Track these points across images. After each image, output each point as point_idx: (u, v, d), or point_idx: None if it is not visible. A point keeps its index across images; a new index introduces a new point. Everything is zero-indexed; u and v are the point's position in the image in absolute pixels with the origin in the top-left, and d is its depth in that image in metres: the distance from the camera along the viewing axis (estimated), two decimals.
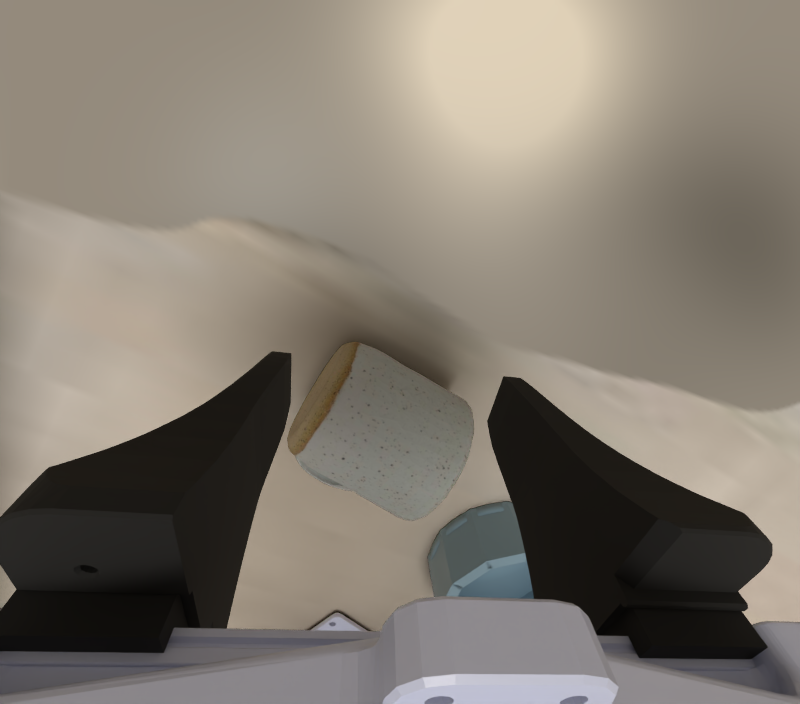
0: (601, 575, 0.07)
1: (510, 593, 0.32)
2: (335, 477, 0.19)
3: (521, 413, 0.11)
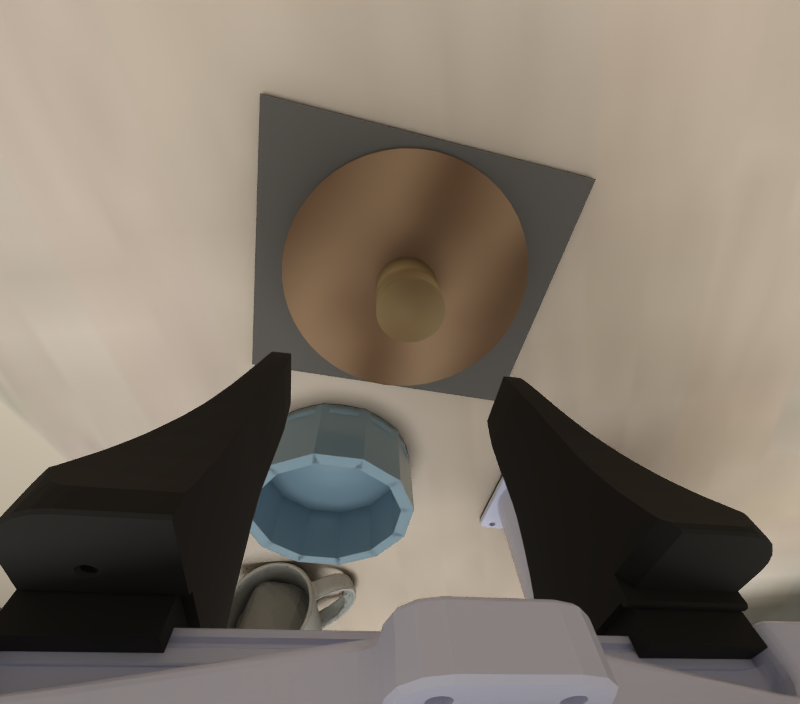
0: (601, 575, 0.07)
1: None
2: None
3: (521, 413, 0.11)
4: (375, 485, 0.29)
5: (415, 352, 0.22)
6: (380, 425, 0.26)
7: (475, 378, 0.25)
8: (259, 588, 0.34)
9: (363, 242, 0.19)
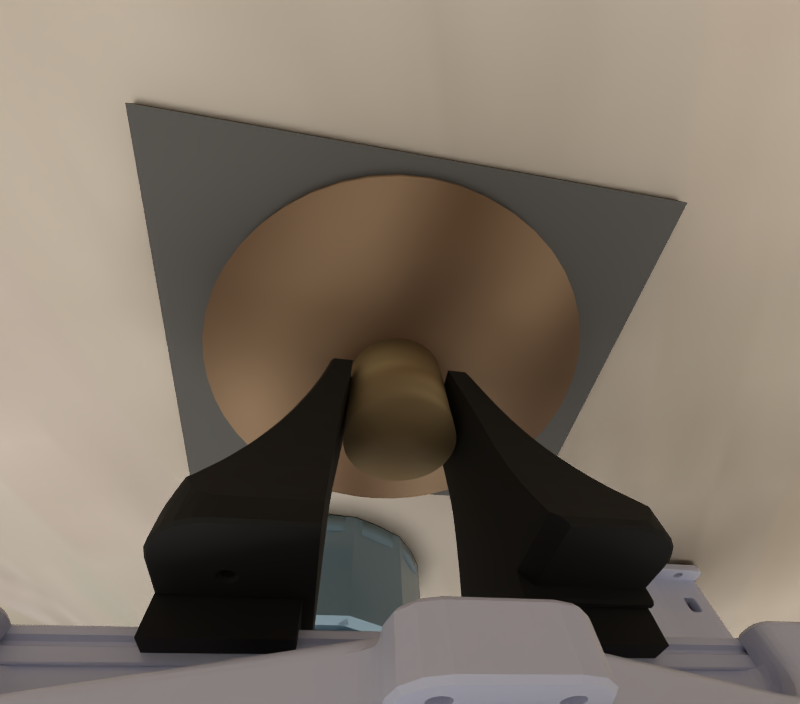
0: (507, 571, 0.07)
1: None
2: None
3: (458, 407, 0.11)
4: None
5: None
6: (374, 538, 0.19)
7: None
8: None
9: (323, 322, 0.12)
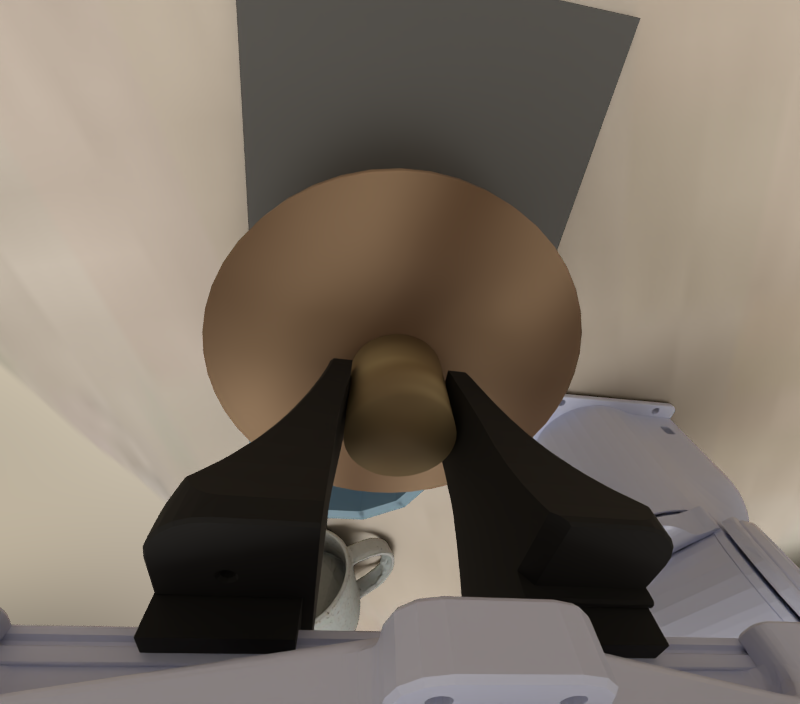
0: (508, 571, 0.07)
1: None
2: None
3: (459, 407, 0.11)
4: None
5: None
6: None
7: None
8: None
9: (323, 318, 0.12)
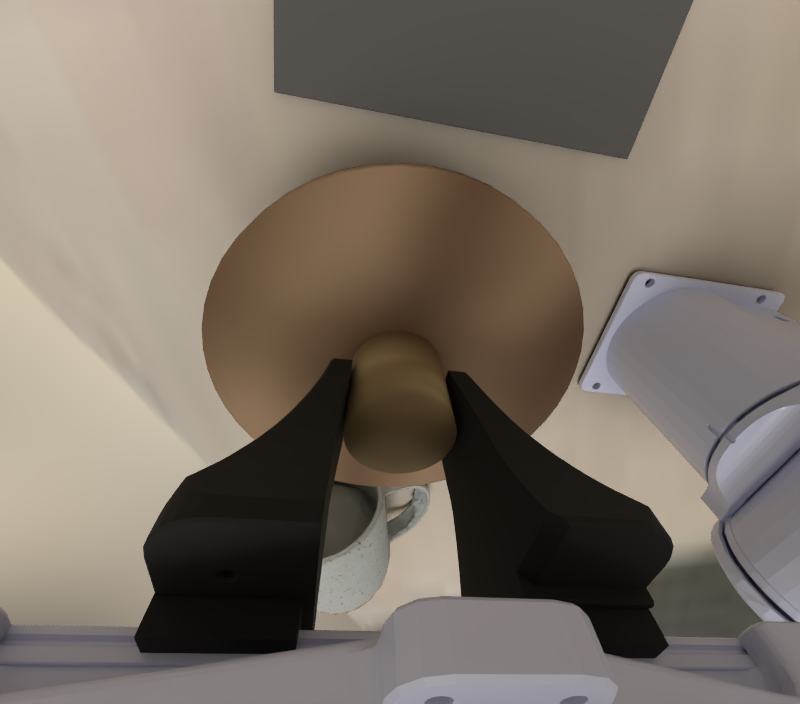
0: (508, 571, 0.07)
1: None
2: (366, 586, 0.24)
3: (458, 407, 0.11)
4: None
5: None
6: None
7: (599, 112, 0.17)
8: None
9: (323, 314, 0.12)
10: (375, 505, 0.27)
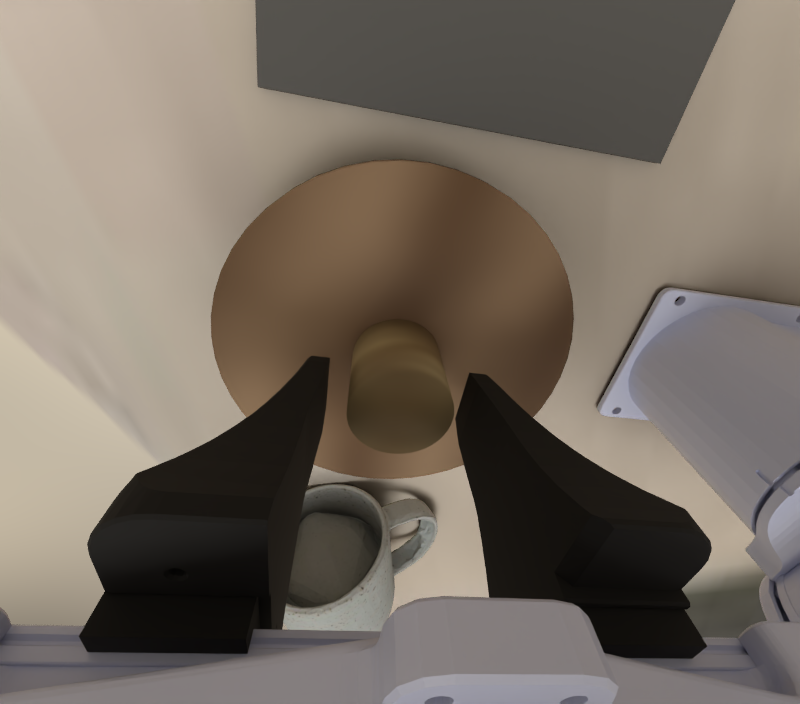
0: (543, 573, 0.07)
1: None
2: (369, 630, 0.22)
3: (482, 409, 0.11)
4: None
5: None
6: None
7: (630, 111, 0.15)
8: (308, 519, 0.25)
9: (327, 303, 0.13)
10: (378, 537, 0.25)
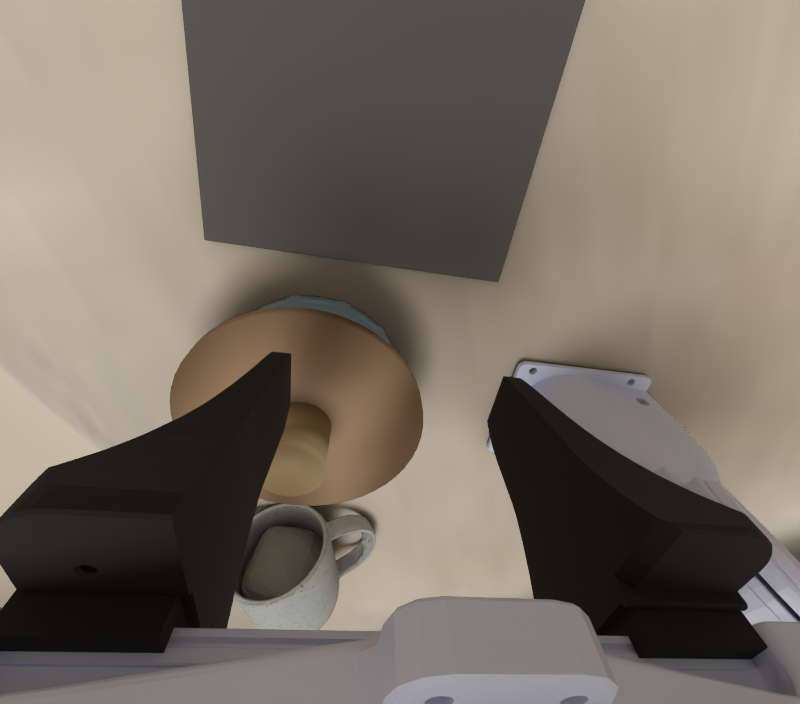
0: (601, 575, 0.07)
1: None
2: (313, 619, 0.28)
3: (521, 413, 0.11)
4: None
5: (323, 478, 0.22)
6: (361, 318, 0.22)
7: (469, 250, 0.21)
8: (268, 531, 0.31)
9: None
10: None
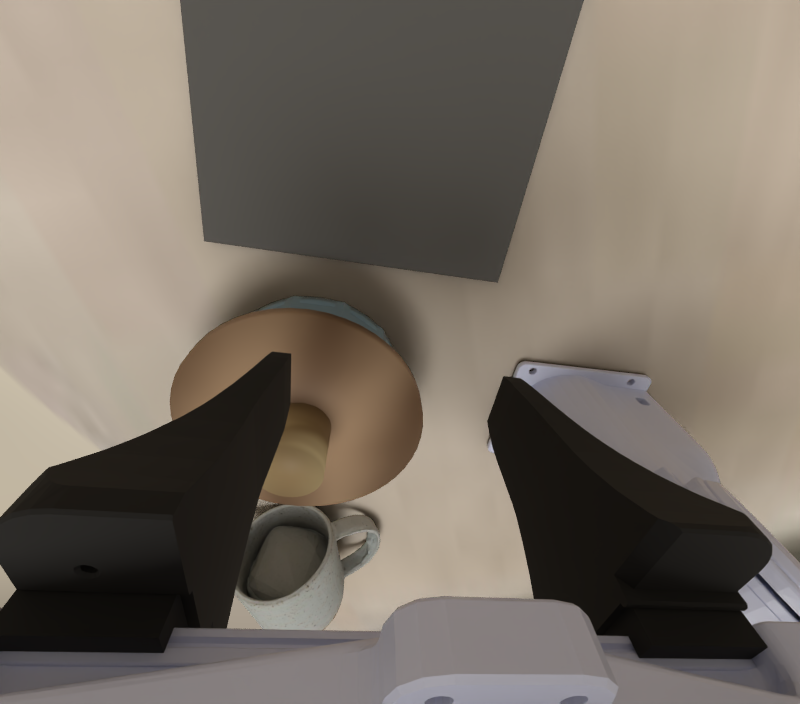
0: (601, 575, 0.07)
1: None
2: (318, 619, 0.28)
3: (521, 413, 0.11)
4: None
5: (323, 478, 0.22)
6: (361, 319, 0.22)
7: (468, 251, 0.21)
8: (273, 531, 0.31)
9: None
10: None
